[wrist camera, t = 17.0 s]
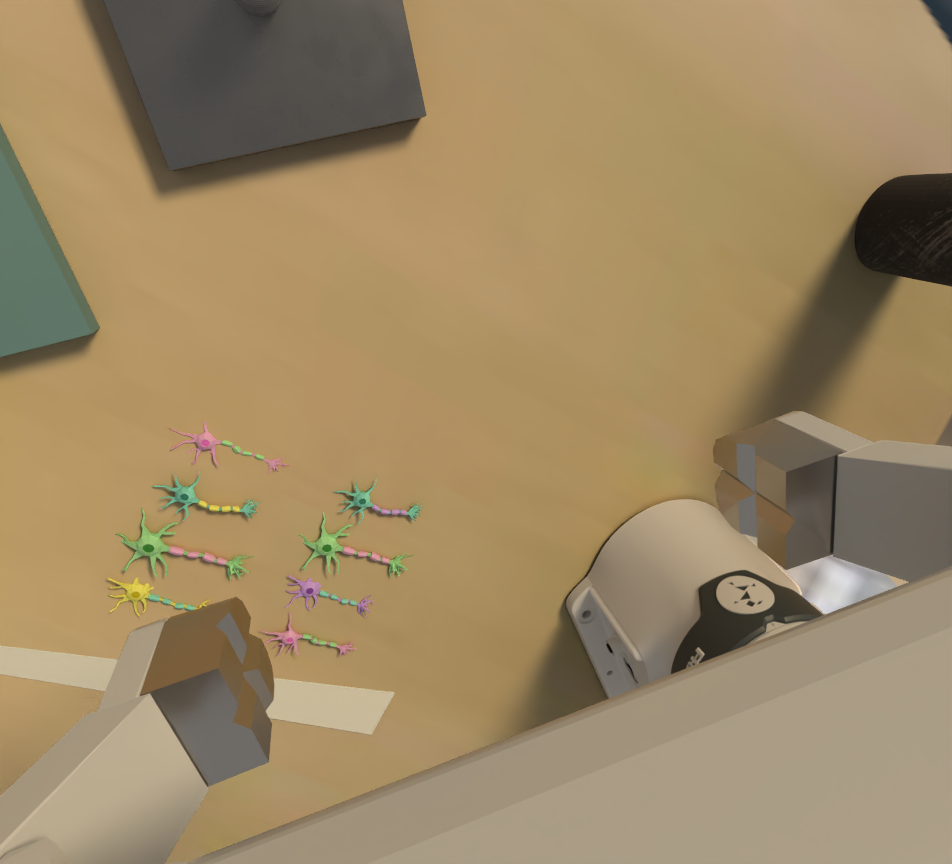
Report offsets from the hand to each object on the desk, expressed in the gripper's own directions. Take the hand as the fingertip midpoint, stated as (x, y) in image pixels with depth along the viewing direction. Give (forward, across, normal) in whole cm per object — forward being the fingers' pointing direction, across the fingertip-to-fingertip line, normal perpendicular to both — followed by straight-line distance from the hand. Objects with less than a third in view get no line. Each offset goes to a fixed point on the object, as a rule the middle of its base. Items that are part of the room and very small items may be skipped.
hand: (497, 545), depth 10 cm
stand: (+30, +1, -15) cm, 34 cm away
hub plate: (+30, +23, -10) cm, 39 cm away
